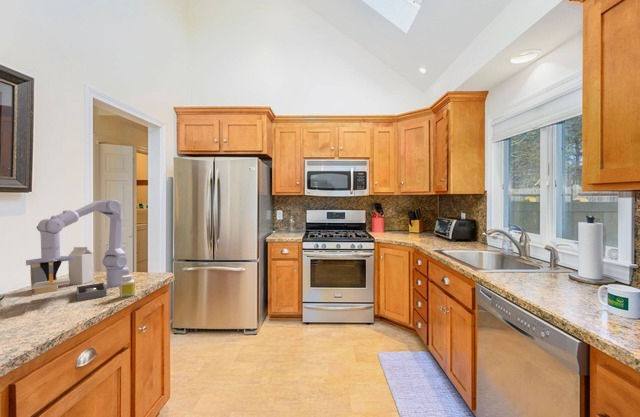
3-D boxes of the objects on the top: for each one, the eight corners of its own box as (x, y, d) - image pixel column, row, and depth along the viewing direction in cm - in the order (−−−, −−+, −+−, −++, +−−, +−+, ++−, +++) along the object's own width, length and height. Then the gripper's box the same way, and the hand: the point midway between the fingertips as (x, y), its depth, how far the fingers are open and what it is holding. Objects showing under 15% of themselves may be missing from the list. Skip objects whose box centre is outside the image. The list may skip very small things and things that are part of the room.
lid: (69, 281, 131) (69, 270, 132) (69, 284, 118) (68, 272, 119) (35, 286, 124) (35, 274, 124) (31, 289, 111) (31, 276, 112)
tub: (104, 289, 138) (103, 282, 138) (106, 297, 127) (106, 289, 127) (76, 294, 131) (76, 286, 131) (77, 302, 121) (77, 294, 121)
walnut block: (97, 293, 130) (97, 289, 130) (97, 296, 127) (97, 291, 127) (85, 295, 127) (85, 291, 127) (86, 298, 124) (86, 293, 124)
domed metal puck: (96, 290, 135) (96, 286, 135) (96, 292, 132) (96, 288, 132) (85, 292, 132) (85, 288, 132) (85, 294, 129) (85, 290, 129)
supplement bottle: (137, 296, 128) (137, 275, 128) (124, 300, 123) (124, 277, 123) (130, 294, 130) (129, 273, 130) (117, 298, 125) (116, 276, 125)
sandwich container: (33, 296, 128) (32, 264, 128) (30, 290, 138) (29, 259, 138) (59, 292, 135) (58, 260, 135) (54, 286, 145) (53, 256, 145)
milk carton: (82, 284, 146) (81, 248, 146) (68, 284, 146) (67, 248, 146) (93, 281, 153) (92, 246, 153) (80, 281, 153) (79, 246, 153)
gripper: (24, 250, 111) (25, 285, 111) (73, 246, 120) (74, 278, 121) (26, 248, 116) (27, 281, 116) (73, 244, 126) (74, 275, 126)
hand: (51, 279), depth 119 cm, fingers closed on lid
